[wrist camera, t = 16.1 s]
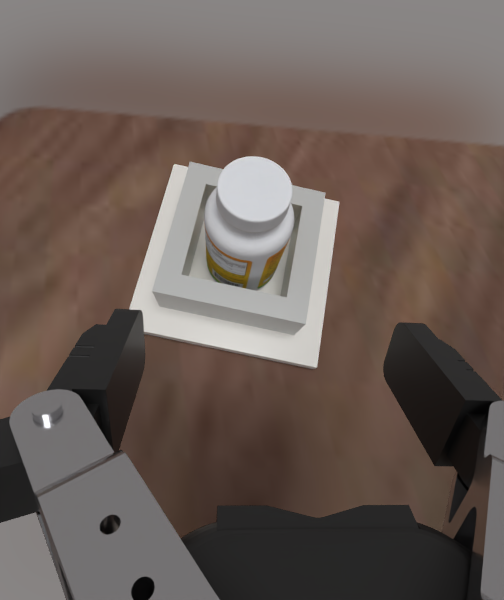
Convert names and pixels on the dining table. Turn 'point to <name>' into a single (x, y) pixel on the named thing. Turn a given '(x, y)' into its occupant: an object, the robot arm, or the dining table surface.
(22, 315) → the dining table surface
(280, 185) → the supplement bottle
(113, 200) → the dining table surface
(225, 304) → the socket block
